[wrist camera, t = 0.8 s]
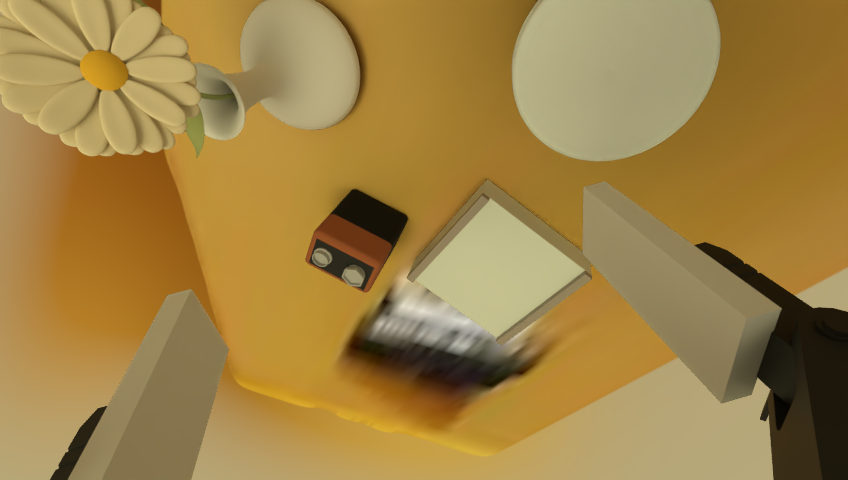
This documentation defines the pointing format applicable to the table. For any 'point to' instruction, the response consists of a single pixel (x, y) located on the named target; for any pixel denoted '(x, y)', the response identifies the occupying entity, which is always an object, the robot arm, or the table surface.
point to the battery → (356, 240)
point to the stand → (500, 264)
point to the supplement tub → (613, 72)
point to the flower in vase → (168, 73)
